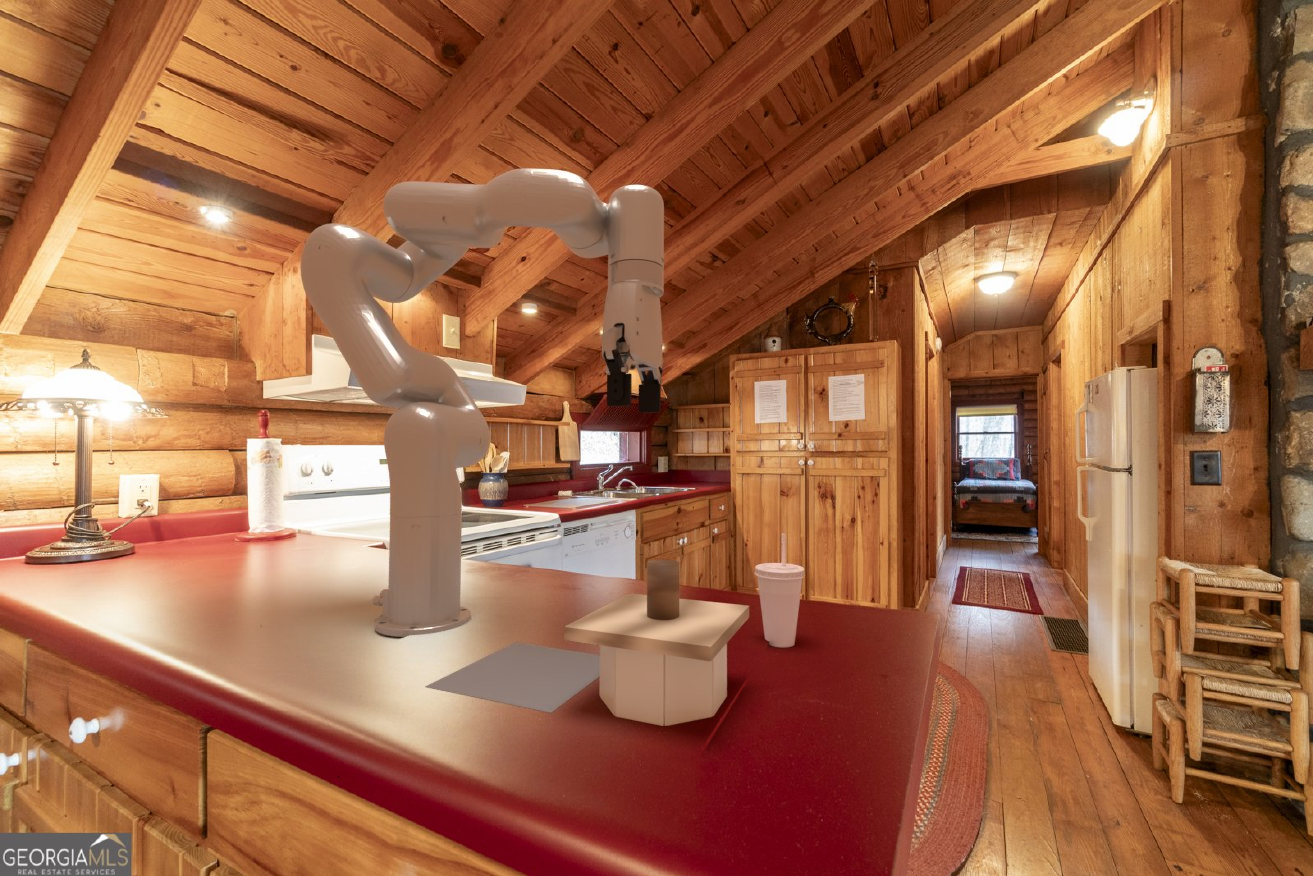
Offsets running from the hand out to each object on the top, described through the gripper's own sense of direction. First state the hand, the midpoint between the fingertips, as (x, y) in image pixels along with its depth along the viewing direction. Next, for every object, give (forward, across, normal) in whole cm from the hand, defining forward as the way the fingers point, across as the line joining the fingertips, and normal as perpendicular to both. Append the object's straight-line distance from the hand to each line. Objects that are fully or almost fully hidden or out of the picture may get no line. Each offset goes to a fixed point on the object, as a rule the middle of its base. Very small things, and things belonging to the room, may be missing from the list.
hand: (635, 409), depth 75 cm
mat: (+30, +16, -5) cm, 35 cm away
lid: (+23, +16, +10) cm, 30 cm away
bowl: (+30, +16, +10) cm, 36 cm away
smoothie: (+31, -6, +18) cm, 36 cm away
